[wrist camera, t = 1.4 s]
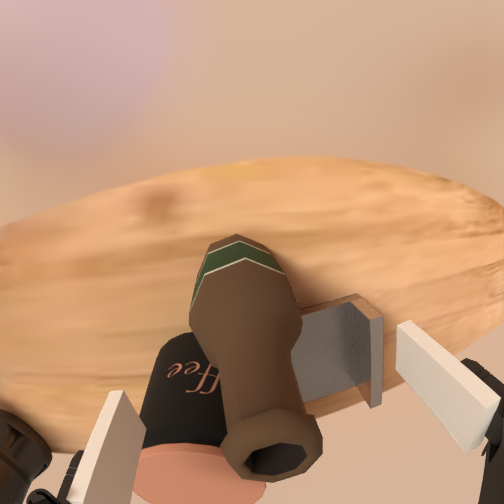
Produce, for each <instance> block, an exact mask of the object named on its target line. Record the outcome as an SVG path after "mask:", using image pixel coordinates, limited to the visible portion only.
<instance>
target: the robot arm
mask: <svg viewBox="0 0 504 504" xmlns="http://www.w3.org/2000/svg"><path fill="white" fill-rule="evenodd" d="M396 371H397V372H398V373H399V374H400V375H401V377H402V378H403V379H404V380H405V381H406V382H407V384H408V385H409V386H410V387H411V388H412V389H413V391H414V392H415V393H416V394H417V395H418V396H419V398H420V399H421V400H422V401H423V402H424V404H425V405H426V406H427V407H428V408H429V409H430V411H431V412H432V413H433V414H434V416H435V417H436V418H437V419H438V420H439V421H440V423H441V424H442V425H443V427H444V428H445V429H446V430H447V431H448V433H449V434H450V435H451V436H452V437H453V439H454V440H455V441H456V442H457V444H458V445H459V446H460V447H461V449H462V450H463V451H464V452H465V454H468V453H469V452H471V451H472V450H474V449H475V448H476V447H478V446H479V445H480V444H481V442H482V440H483V438H484V436H485V437H486V438H487V439H488V440H489V441H488V443H487V444H486V446H485V448H484V450H483V452H482V455H481V456H483V455H484V454H485V452H486V460H485V468H484V475H483V481H482V487H481V492H480V497H479V502H478V504H504V384H503V383H502V382H500V381H499V380H498V379H497V378H496V377H494V376H493V375H492V374H490V372H488V371H487V370H485V369H484V367H482V366H481V365H480V364H478V363H477V362H476V361H473V360H470V359H468V358H466V359H464V360H462V361H459V360H457V359H456V358H455V357H454V356H453V355H452V354H450V353H449V352H448V351H447V350H446V349H444V348H443V347H442V346H441V345H440V344H438V343H437V342H436V341H435V340H434V339H432V338H431V337H430V336H429V335H428V334H426V333H425V332H424V331H423V330H421V329H420V328H419V327H418V326H417V325H415V324H414V323H413V322H412V321H410V320H409V321H406V322H404V323H401V324H399V325H397V348H396ZM145 433H146V427H145V426H144V424H143V422H142V421H141V419H140V418H139V416H138V414H137V413H136V411H135V409H134V408H133V406H132V404H131V402H130V401H129V399H128V397H127V395H126V394H125V392H124V390H119V391H110V393H109V395H108V397H107V400H106V402H105V404H104V406H103V408H102V411H101V413H100V415H99V418H98V420H97V422H96V425H95V427H94V429H93V432H92V434H91V436H90V439H89V441H88V444H87V446H86V449H85V451H84V450H79V451H78V452H77V453H76V455H75V456H74V457H73V458H72V460H71V463H70V465H69V468H68V470H67V472H66V476H65V477H64V480H63V483H62V485H61V488H60V490H59V493H58V496H57V498H55V497H54V496H53V495H52V494H51V493H50V492H49V491H47V490H45V489H36V490H34V491H32V492H31V493H30V494H29V496H28V498H27V501H26V503H27V504H130V500H131V495H132V490H133V486H134V481H135V476H136V471H137V467H138V462H139V458H140V454H141V449H142V445H143V441H144V437H145ZM51 461H52V453H51V451H50V449H49V447H48V446H47V444H46V443H45V442H44V441H43V439H42V438H41V437H40V436H39V435H38V434H37V433H36V432H35V431H34V430H33V429H32V428H30V427H29V426H28V425H27V424H26V423H24V422H23V421H22V420H20V419H19V418H17V417H16V416H14V415H12V414H10V413H8V412H6V411H3V410H0V504H23V501H24V499H25V496H26V494H27V492H28V489H29V487H30V484H31V482H32V481H33V480H34V479H35V478H37V476H39V475H40V474H41V473H42V472H44V471H45V470H46V469H47V468H48V467H49V465H50V463H51Z"/></svg>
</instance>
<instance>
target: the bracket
mask: <svg viewBox="0 0 504 504" xmlns="http://www.w3.org/2000/svg"><path fill="white" fill-rule="evenodd" d="M299 312H300V315H301V318H302V320H303V325H302V331H301V334H300V336H299V338H298V340H297V342H296V343H295V345H294V347H293V349H292V350H291V360H292V365H293V369H294V372H295V376H296V379H297V382H298V386H299V389H300V393H301V396H302V400H303V403H304V402H308V401H311V400H315V399H318V398H321V397H324V396H327V395H331V394H334V393H337V392H340V391H342V390H345V389H348V388H351V387H354V386H356V387H357V388H358V390H359V391H360V393H361V395H362V396H363V398H364V399H365V401H366V402H367V404H368V405H369V407H370V408H373V407H376V406H378V405H380V404H381V401H382V381H383V315H381V314H380V313H379V312H378V311H377V310H376V309H374V308H373V307H372V306H371V305H370V304H369V303H367V302H366V301H365V300H364V299H363V298H362V297H360V296H359V295H358V294H357V293H356V294H353V295H350V296H346V297H343V298H340V299H336V300H333V301H330V302H326V303H323V304H319V305H316V306H312V307H309V308H305V309H301V310H299Z"/></svg>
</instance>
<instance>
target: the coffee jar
mask: <svg viewBox="0 0 504 504" xmlns="http://www.w3.org/2000/svg"><path fill="white" fill-rule="evenodd" d="M139 418H140V419H141V421H142V422H143V424H144V426H145V427H146V433H145V437H144V441H143V445H142V449H141V454H140V458H139V462H138V467H137V471H136V476H135V481H134V486H133V491H134V492H135V493H136V494H137V495H138V496H140V497H141V498H143V499H144V500H146V501H148V502H149V503H151V504H254V503H255V502H256V501H258V500H259V499H260V498H261V497H262V496H263V493H264V491H265V489H266V483H265V482H261V481H253V480H245V479H241V477H240V476H239V475H238V474H237V473H236V472H235V471H234V470H233V469H232V467H231V466H230V465H229V464H228V463H227V460H226V458H225V456H224V454H223V452H222V450H221V447H220V445H221V443H222V442H223V440H224V438H225V437H226V435H227V434H228V432H227V426H226V420H225V413H224V406H223V399H222V392H221V385H220V377H219V369H217V368H215V367H213V366H212V365H211V363H210V362H209V360H208V359H207V357H206V355H205V353H204V351H203V350H202V348H201V346H200V344H199V342H198V340H197V339H196V337H195V335H194V333H193V332H190V333H183V334H181V335H179V336H177V337H175V338H172V339H170V340H169V341H168V342H167V343H166V344H165V345H164V346H163V347H162V348H161V350H160V352H159V354H158V356H157V359H156V362H155V365H154V368H153V371H152V374H151V378H150V381H149V384H148V388H147V391H146V394H145V398H144V401H143V405H142V408H141V412H140V415H139Z"/></svg>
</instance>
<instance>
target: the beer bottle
mask: <svg viewBox="0 0 504 504" xmlns="http://www.w3.org/2000/svg"><path fill="white" fill-rule="evenodd" d="M189 325H190V327H191V329H192V331H193V333H194V335H195V337H196V339H197V340H198V342H199V344H200V346H201V348H202V350H203V351H204V353H205V355H206V357H207V359H208V360H209V362H210V363H211V365H212V366H213V367H215V368H217V369H219V377H220V385H221V392H222V399H223V406H224V413H225V420H226V426H227V432H228V434H227V435H226V437H225V438H224V440H223V442H222V443H221V445H220V447H221V450H222V452H223V454H224V456H225V458H226V460H227V463H228V464H229V465H230V466H231V467H232V469H233V470H234V471H235V472H236V473H237V474H238V475H239V476H240V477H241V479H245V480H253V481H261V482H272V483H273V482H277V481H280V480H284V479H287V478H290V477H293V476H296V475H299V474H302V473H305V472H306V471H307V470H308V469H309V468H310V467H311V466H312V465H313V463H314V462H315V461H316V460H317V459H318V458H319V457H320V456H321V455H322V452H323V449H322V448H323V447H322V444H323V443H322V442H323V441H322V439H323V437H322V434H321V432H320V429H319V427H318V425H317V422H316V420H315V417H314V415H310V414H306V410H305V407H304V403H303V400H302V396H301V393H300V389H299V386H298V382H297V379H296V376H295V372H294V369H293V365H292V360H291V350H292V349H293V347H294V345H295V343H296V342H297V340H298V338H299V336H300V334H301V331H302V325H303V320H302V318H301V315H300V312H299V309H298V306H297V303H296V301H295V298H294V295H293V292H292V289H291V287H290V284H289V282H288V280H287V277H286V275H285V274H284V272H283V271H282V269H281V268H280V267H279V265H278V264H277V262H276V261H275V260H274V258H273V257H272V255H271V254H270V252H269V251H268V250H267V248H266V247H265V246H264V245H262V244H260V243H257V242H255V241H253V240H250V239H248V238H245V237H243V236H241V235H238V234H235V235H233V236H230V237H228V238H225V239H223V240H220V241H218V242H215V243H213V244H210V246H209V248H208V251H207V253H206V255H205V258H204V260H203V263H202V265H201V268H200V270H199V272H198V275H197V279H196V284H195V288H194V293H193V297H192V302H191V307H190V311H189Z"/></svg>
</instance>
